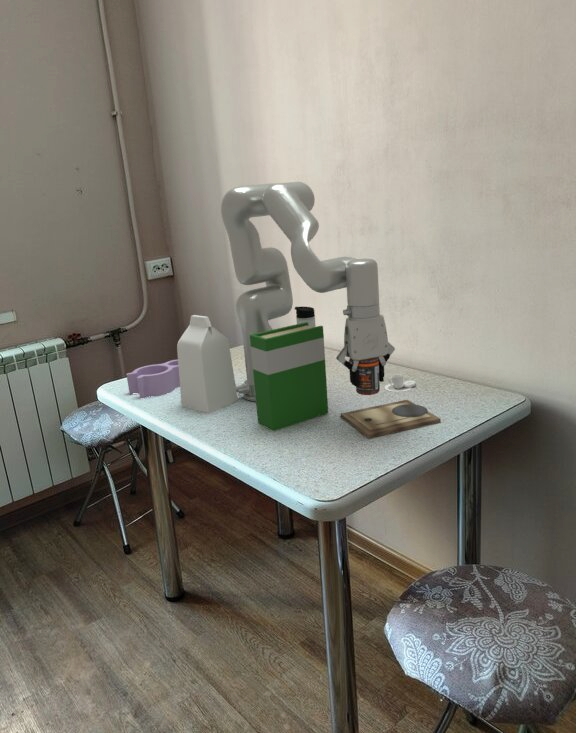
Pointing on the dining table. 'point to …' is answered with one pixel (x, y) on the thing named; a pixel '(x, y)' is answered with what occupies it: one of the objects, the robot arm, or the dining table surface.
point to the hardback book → (289, 375)
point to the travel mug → (305, 315)
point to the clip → (154, 379)
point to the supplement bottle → (368, 377)
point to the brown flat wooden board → (389, 418)
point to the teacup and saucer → (400, 383)
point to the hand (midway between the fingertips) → (367, 382)
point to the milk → (205, 367)
